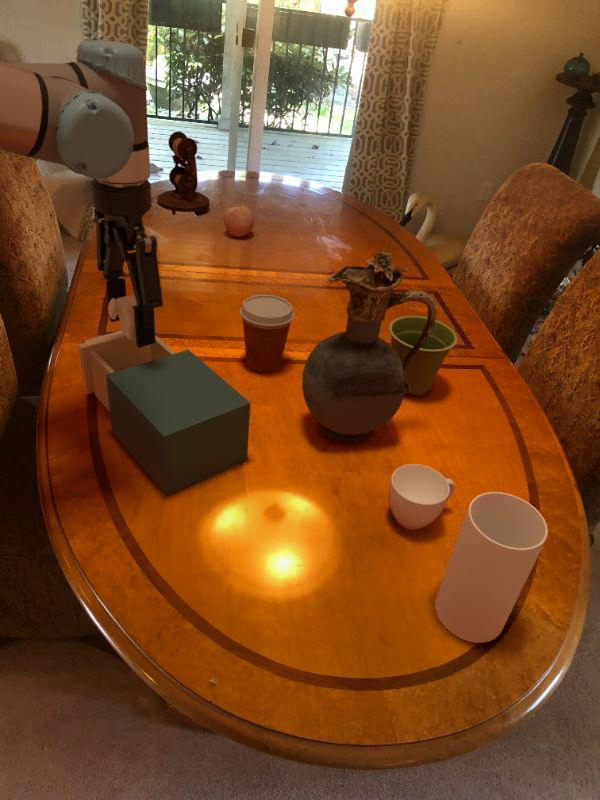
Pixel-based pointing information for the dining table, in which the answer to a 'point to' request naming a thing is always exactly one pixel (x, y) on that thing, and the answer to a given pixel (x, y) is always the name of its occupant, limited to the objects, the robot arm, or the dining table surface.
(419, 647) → the dining table surface
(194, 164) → the brown mechanical sculpture
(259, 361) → the disposable coffee cup
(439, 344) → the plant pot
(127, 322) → the elephant figurine
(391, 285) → the pitcher
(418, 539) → the dining table surface
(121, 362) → the drawer
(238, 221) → the apple
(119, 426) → the cabinet
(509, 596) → the cup
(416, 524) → the cup
